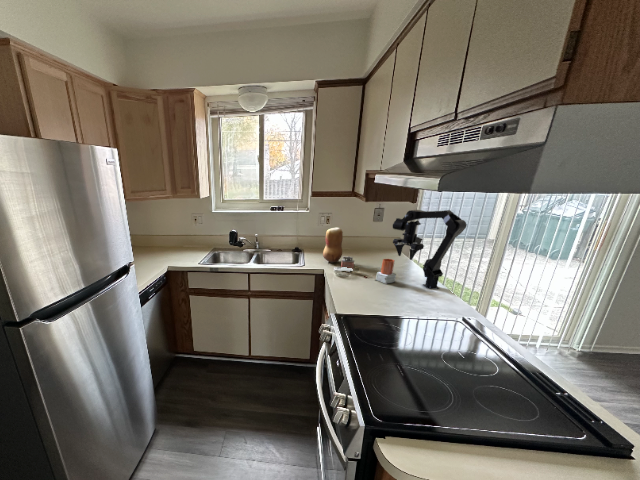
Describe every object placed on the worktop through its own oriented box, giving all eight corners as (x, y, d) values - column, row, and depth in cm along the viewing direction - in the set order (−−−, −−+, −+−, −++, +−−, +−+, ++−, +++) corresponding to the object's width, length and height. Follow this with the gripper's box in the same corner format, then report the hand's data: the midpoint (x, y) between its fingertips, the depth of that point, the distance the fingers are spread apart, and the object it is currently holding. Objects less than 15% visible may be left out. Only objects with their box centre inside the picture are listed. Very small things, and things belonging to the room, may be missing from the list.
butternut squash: (319, 260, 238) (322, 226, 229) (336, 259, 241) (339, 225, 231) (327, 265, 226) (331, 229, 216) (345, 264, 228) (349, 229, 218)
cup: (394, 274, 188) (396, 261, 185) (383, 274, 188) (385, 261, 185) (389, 271, 194) (392, 258, 191) (379, 271, 194) (381, 258, 191)
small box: (375, 280, 195) (376, 272, 193) (384, 278, 198) (386, 270, 196) (385, 284, 188) (386, 275, 186) (395, 282, 191) (396, 273, 189)
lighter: (352, 270, 213) (354, 256, 209) (353, 272, 210) (355, 257, 206) (340, 270, 215) (342, 255, 211) (340, 271, 212) (342, 256, 208)
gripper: (434, 233, 181) (428, 260, 187) (409, 228, 198) (404, 253, 203) (418, 235, 178) (412, 262, 184) (394, 229, 195) (390, 254, 201)
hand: (405, 257), depth 193 cm, fingers open, 9 cm apart
